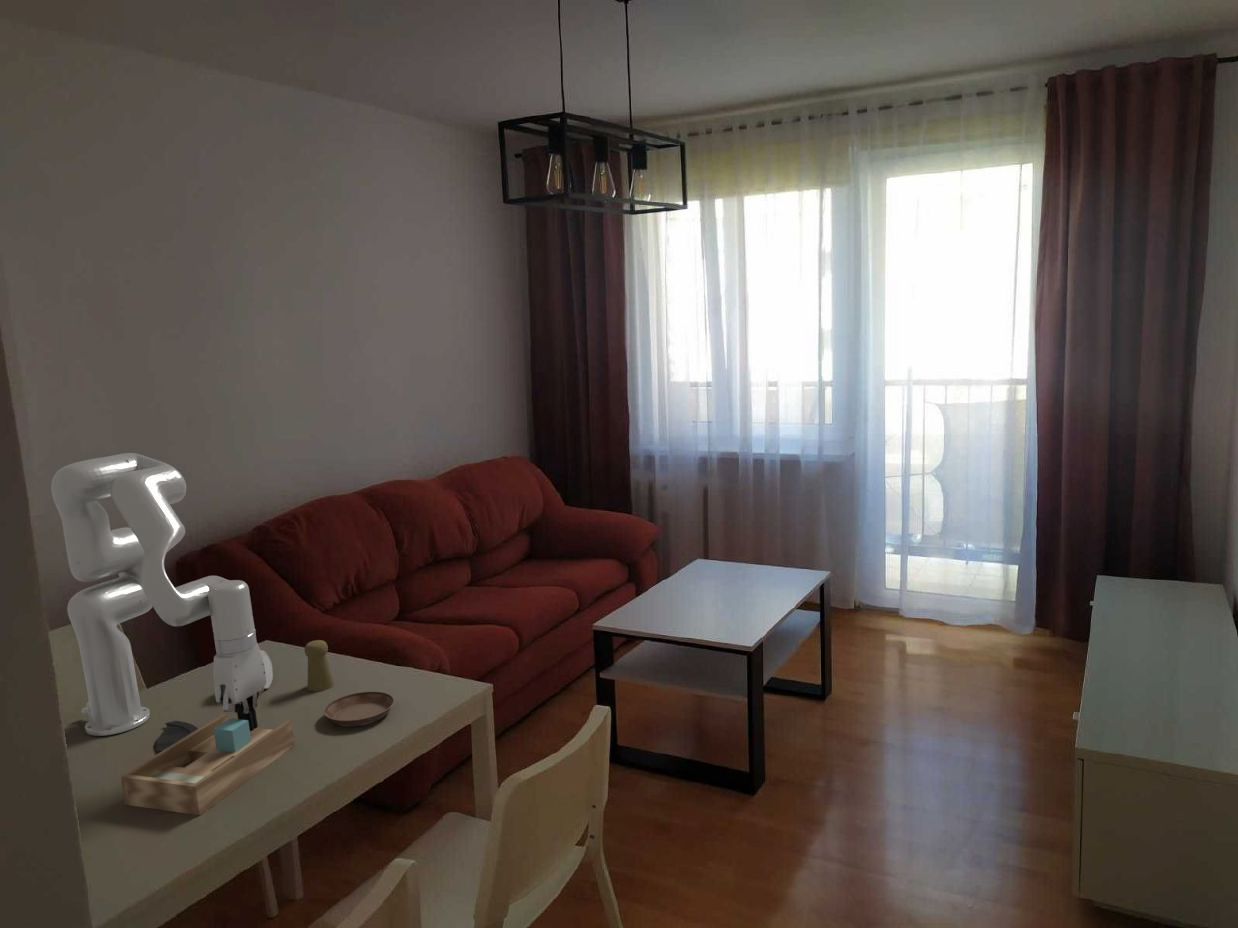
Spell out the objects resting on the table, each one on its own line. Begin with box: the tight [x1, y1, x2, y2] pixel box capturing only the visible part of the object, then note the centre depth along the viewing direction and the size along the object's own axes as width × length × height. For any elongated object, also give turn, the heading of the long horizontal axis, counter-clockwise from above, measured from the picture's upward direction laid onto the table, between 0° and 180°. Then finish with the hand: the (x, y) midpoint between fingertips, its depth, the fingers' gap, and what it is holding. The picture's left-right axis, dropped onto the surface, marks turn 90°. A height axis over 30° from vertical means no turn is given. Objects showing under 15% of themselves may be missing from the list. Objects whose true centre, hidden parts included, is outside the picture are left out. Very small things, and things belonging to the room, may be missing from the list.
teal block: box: [214, 718, 251, 752], centre depth 177 cm, size 4×4×4 cm
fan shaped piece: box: [155, 720, 199, 754], centre depth 190 cm, size 8×14×2 cm, turn 26°
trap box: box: [120, 713, 296, 816], centre depth 173 cm, size 17×26×6 cm, turn 162°
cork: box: [304, 639, 335, 693], centre depth 211 cm, size 6×6×11 cm
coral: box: [260, 649, 274, 690], centre depth 212 cm, size 10×10×10 cm
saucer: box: [323, 690, 395, 728], centre depth 195 cm, size 15×15×3 cm
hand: (248, 728), depth 181 cm, fingers closed
